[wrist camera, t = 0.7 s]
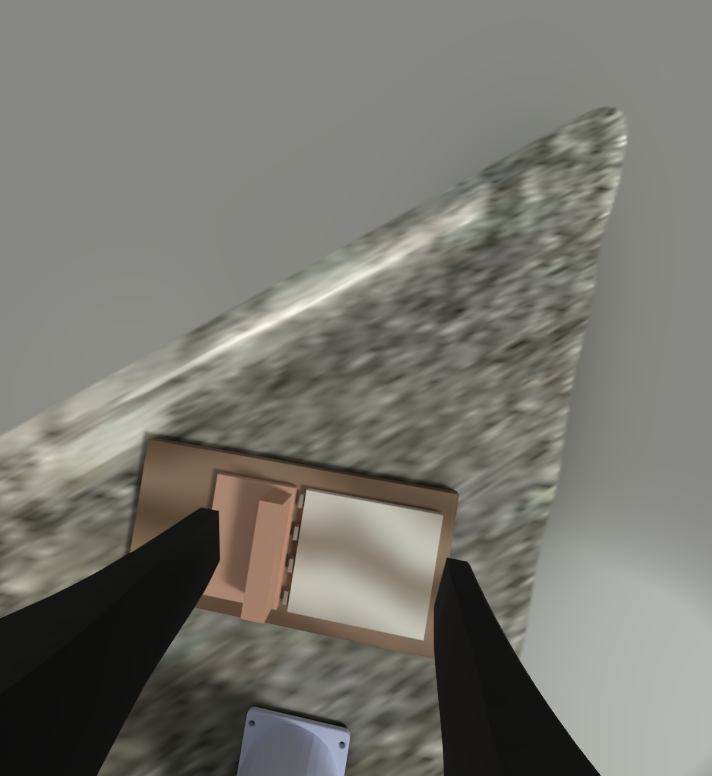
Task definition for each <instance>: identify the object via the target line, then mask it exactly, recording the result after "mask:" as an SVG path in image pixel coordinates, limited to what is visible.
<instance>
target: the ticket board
mask: <svg viewBox="0 0 712 776" xmlns="http://www.w3.org/2000/svg"><path fill="white" fill-rule="evenodd" d="M219 473H227V474H232V475H238V476H243V477H249V478H254V479H260V480H265V481H271V482H276V483H282V484H287V485H293V486H298V488H297V494H296V500H295V506H294V513H293V519H292V525H291V531H290V538H289V544H288V550H287V556H286V563H285V569H284V575H283V581H282V588H281V594H280V600H279V606H278V608H277V610H274V609H271V611H270V613H269V615H268V616H267V618H266V620H265V623H270V624H274V625H279V626H284V627H288V628H293V629H298V630H302V631H307V632H312V633H316V634H321V635H326V636H330V637H335V638H340V639H344V640H349V641H354V642H358V643H363V644H368V645H372V646H377V647H382V648H386V649H391V650H396V651H400V652H405V653H410V654H414V655H419V656H424V657H428V658H433V657H434V604H435V601H436V597H437V593H438V589H439V585H440V581H441V578H442V574H443V570H444V566H445V562H446V558H449V555H450V549H451V543H452V536H453V530H454V524H455V517H456V511H457V505H458V498H459V494H458V493H457V491H453V490H447V489H442V488H436V487H430V486H425V485H419V484H414V483H408V482H402V481H397V480H391V479H385V478H380V477H374V476H368V475H363V474H357V473H352V472H346V471H340V470H335V469H329V468H323V467H318V466H312V465H306V464H301V463H295V462H290V461H284V460H278V459H273V458H267V457H261V456H256V455H250V454H245V453H239V452H233V451H228V450H222V449H216V448H211V447H205V446H199V445H194V444H188V443H183V442H177V441H171V440H166V439H160V438H153V439H148V445H147V451H146V457H145V463H144V470H143V476H142V482H141V488H140V494H139V500H138V507H137V513H136V519H135V525H134V531H133V537H132V544H131V550H130V553H131V552H132V551H134V550H136V549H137V548H139V547H140V546H142V545H144V544H145V543H147V542H148V541H150V540H151V539H153V538H155V537H156V536H158V535H159V534H161V533H162V532H164V531H165V530H167V529H169V528H170V527H172V526H173V525H175V524H176V523H178V522H179V521H181V520H182V519H184V518H185V517H187V516H188V515H190V514H191V513H193V512H194V511H196V510H198V509H199V508H201V507H202V508H207V509H212V506H213V500H214V494H215V488H216V482H217V475H218V474H219ZM242 607H243V603H241V602H236V601H231V600H227V599H222V598H217V597H213V596H208V595H202V596H201V598H200V600H199V601H198V603H197V604H196V606H195V608H200V609H204V610H209V611H214V612H218V613H223V614H228V615H232V616H237V617H241V613H242Z"/></svg>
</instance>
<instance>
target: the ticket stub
mask: <svg viewBox="0 0 712 776" xmlns="http://www.w3.org/2000/svg"><path fill="white" fill-rule="evenodd" d="M297 488H298V486H293V485H287V484H282V483H276V482H271V481H265V480H260V479H254V478H249V477H243V476H238V475H232V474H227V473H219V474H218V475H217V482H216V488H215V494H214V500H213V506H212V510H217V511H219V531H220V562H219V564H218V566H217V568H216V570H215V572H214V574H213V576H212V578H211V580H210V582H209V584H208V586H207V588H206V590H205V592H204V593H203V595H208V596H213V597H217V598H222V599H227V600H231V601H236V602H241V603H243V607H242V613H241V619H244V620H249V621H253V622H258V623H263V624H264V622H265V620H266V618H267V616H268V615H269V613H270V611H271V609H274V610H277V608H278V606H279V600H280V594H281V588H282V581H283V575H284V569H285V563H286V556H287V550H288V544H289V538H290V531H291V525H292V519H293V513H294V506H295V500H296V494H297Z"/></svg>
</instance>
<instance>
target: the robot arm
mask: <svg viewBox="0 0 712 776" xmlns="http://www.w3.org/2000/svg"><path fill="white" fill-rule="evenodd" d="M219 562H220V531H219V511H217V510H212V509H207V508H202V507H201V508H199V509H198V510H196V511H194V512H193V513H191V514H190V515H188V516H187V517H185V518H184V519H182V520H181V521H179V522H178V523H176V524H175V525H173V526H172V527H170V528H169V529H167V530H165V531H164V532H162V533H161V534H159V535H158V536H156V537H155V538H153V539H151V540H150V541H148V542H147V543H145V544H144V545H142V546H140V547H139V548H137V549H136V550H134V551H132V552H131V553H129V554H127V555H126V556H124V557H122V558H120V559H119V560H117V561H115V562H114V563H112V564H110V565H108V566H107V567H105V568H103V569H102V570H100V571H98V572H96V573H95V574H93V575H91V576H89V577H87V578H85V579H83V580H81V581H80V582H78V583H76V584H74V585H72V586H70V587H68V588H66V589H64V590H62V591H60V592H58V593H56V594H54V595H52V596H49V597H47V598H45V599H43V600H41V601H38V602H36V603H34V604H32V605H29V606H27V607H25V608H23V609H20V610H18V611H16V612H14V613H11V614H9V615H7V616H5V617H2V618H0V776H97V774H98V772H99V770H100V768H101V766H102V764H103V762H104V761H105V759H106V757H107V755H108V753H109V751H110V749H111V747H112V745H113V743H114V741H115V739H116V738H117V736H118V734H119V732H120V730H121V728H122V726H123V724H124V722H125V720H126V719H127V717H128V715H129V713H130V711H131V709H132V708H133V706H134V704H135V702H136V700H137V698H138V697H139V695H140V693H141V691H142V689H143V687H144V686H145V684H146V682H147V680H148V679H149V677H150V675H151V674H152V672H153V671H154V669H155V667H156V666H157V664H158V663H159V661H160V660H161V658H162V656H163V655H164V653H165V652H166V650H167V649H168V647H169V646H170V644H171V643H172V641H173V640H174V638H175V637H176V635H177V634H178V632H179V630H180V629H181V627H182V626H183V624H184V623H185V621H186V620H187V618H188V617H189V615H190V614H191V612H192V610H193V609H194V607H195V606H196V604H197V603H198V601H199V600H200V598H201V596H202V595H203V593H204V592H205V590H206V588H207V586H208V584H209V582H210V580H211V578H212V576H213V574H214V572H215V570H216V568H217V566H218V564H219ZM434 656H435V667H436V678H437V689H438V700H439V710H440V721H441V731H442V744H443V760H444V776H601V775H600V774H599V773H598V772H597V770H596V769H595V768H594V766H593V765H592V764H591V763H590V761H589V760H588V759H587V758H586V756H585V755H584V754H583V752H582V751H581V750H580V749H579V747H578V746H577V745H576V743H575V742H574V740H573V739H572V738H571V736H570V735H569V734H568V732H567V731H566V729H565V728H564V727H563V725H562V724H561V722H560V721H559V720H558V718H557V717H556V715H555V714H554V712H553V711H552V710H551V708H550V707H549V705H548V704H547V702H546V701H545V699H544V698H543V696H542V695H541V693H540V692H539V690H538V689H537V687H536V686H535V684H534V683H533V681H532V680H531V678H530V676H529V675H528V673H527V671H526V670H525V668H524V667H523V665H522V663H521V662H520V660H519V658H518V657H517V655H516V653H515V652H514V650H513V648H512V646H511V645H510V643H509V641H508V639H507V638H506V636H505V634H504V632H503V630H502V629H501V627H500V625H499V623H498V621H497V619H496V618H495V616H494V614H493V612H492V610H491V608H490V606H489V604H488V602H487V600H486V598H485V596H484V594H483V592H482V590H481V588H480V586H479V584H478V582H477V579H476V577H475V575H474V573H473V571H472V568H471V566H470V565H469V563H468V562H466V561H461V560H456V559H451V558H446V562H445V566H444V570H443V574H442V578H441V581H440V585H439V589H438V593H437V597H436V601H435V604H434ZM251 720H253V721H254V722H255V723H253V722H251ZM349 741H350V732H349V730H348V729H346V728H344V727H339V726H335V725H331V724H327V723H322V722H318V721H314V720H309V719H305V718H301V717H297V716H292V715H288V714H284V713H279V712H275V711H271V710H267V709H262V708H258V707H251V708H250V709H249V711H248V713H247V716H246V722H245V729H244V735H243V741H242V747H241V754H240V760H239V766H238V772H237V776H344V772H345V766H346V760H347V753H348V747H349ZM340 742H344V744H342V743H340Z"/></svg>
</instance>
